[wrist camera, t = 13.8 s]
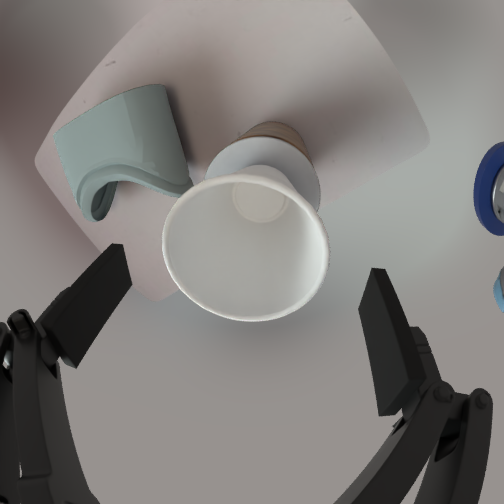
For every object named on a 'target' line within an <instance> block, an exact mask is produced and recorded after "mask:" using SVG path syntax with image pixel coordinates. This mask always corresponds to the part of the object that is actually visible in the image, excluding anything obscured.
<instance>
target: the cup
mask: <svg viewBox="0 0 504 504" xmlns="http://www.w3.org/2000/svg"><path fill="white" fill-rule="evenodd" d="M162 250H163V256H164V260H165V263H166V266H167V269H168V271H169V273H170V275H171V277H172V279H173V280H174V281H175V283H176V284H177V285H178V287H179V288H180V290H181V291H182V292H184V293H185V294H186V295H187V296H188V297H189V298H190V299H191V300H192V301H194V302H195V303H196V304H198V305H199V306H201V307H202V308H204V309H206V310H208V311H210V312H212V313H214V314H216V315H220V316H222V317H225V318H228V319H233V320H239V321H254V322H257V321H266V320H272V319H276V318H279V317H283V316H285V315H288V314H289V313H292V312H294V311H296V310H298V309H299V308H300V307H302V306H303V305H305V304H306V303H307V302H308V301H309V300H310V299H311V298H312V297H313V296H314V295H315V294H316V293H317V292H318V290H319V288H320V286H321V285H322V283H323V281H324V280H325V277H326V274H327V271H328V268H329V261H330V245H329V239H328V234H327V232H326V229H325V227H324V224H323V222H322V220H321V218H320V217H319V215H318V214H317V212H316V211H315V209H314V208H313V207H312V205H311V204H310V203H309V202H308V201H306V200H305V199H304V198H303V197H302V196H301V195H300V194H299V193H298V192H297V191H296V189H295V188H294V187H293V185H292V184H291V182H290V181H289V180H288V178H287V177H286V176H285V175H284V174H283V173H282V172H281V171H279V170H277V169H276V168H273V167H270V166H267V165H252V166H248V167H245V168H243V169H240V170H238V171H236V172H233V173H231V174H224V175H220V176H216V177H213V178H209V179H206V180H204V181H202V182H200V183H199V184H197V185H195V186H193V187H191V188H190V189H189V190H188V191H186V192H185V193H184V194H183V195H182V196H181V197H179V199H178V200H177V201H176V203H175V204H174V206H173V207H172V208H171V210H170V212H169V214H168V216H167V219H166V221H165V223H164V228H163V234H162Z"/></svg>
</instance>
